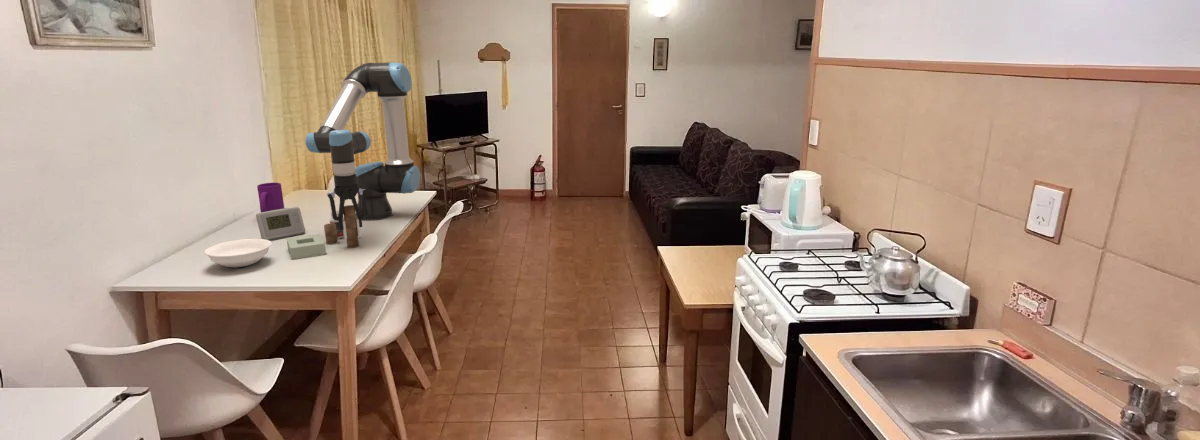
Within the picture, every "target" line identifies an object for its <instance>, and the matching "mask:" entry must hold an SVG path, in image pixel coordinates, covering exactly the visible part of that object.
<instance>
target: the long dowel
mask: <svg viewBox="0 0 1200 440" xmlns="http://www.w3.org/2000/svg"><path fill="white" fill-rule="evenodd" d="M343 217H344V221H345V224H346V233H347V239H346V244H347V245H346V246H347V248H350V249H351V248H352V249H353V248H357V247H359V246H360V241H359V237H358V232H357V224H356V212H355V207H354V206H353V204H351V205H350V204H348V205H344V213H343Z"/></svg>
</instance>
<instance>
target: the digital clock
mask: <svg viewBox="0 0 1200 440" xmlns="http://www.w3.org/2000/svg"><path fill="white" fill-rule="evenodd" d="M255 217H256V221H257V226H258V229H259V235H260V239H265V240H269V241H275V240H281V239H287V238H292V237H298V236H297V235H303V234H305V233H306V228H305V224H304V220H303V216H302V212H301V209H300V207H299V206H291V207H286V208H285V207H284V209H278V210H271V211H267V212H261V211H260V212H257V213H256V214H255Z"/></svg>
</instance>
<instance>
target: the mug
mask: <svg viewBox="0 0 1200 440" xmlns="http://www.w3.org/2000/svg"><path fill="white" fill-rule="evenodd" d="M282 189H283V188H282V183H280V182H265V183H260V184H257V194H258V200H259V209H260V211H259V212H260V213H261V212H267V211H271V210H278V209H284V208H285V202H284V195H283V190H282Z"/></svg>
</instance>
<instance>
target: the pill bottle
mask: <svg viewBox="0 0 1200 440" xmlns="http://www.w3.org/2000/svg"><path fill="white" fill-rule="evenodd" d="M336 214H337V217H338V215H339V210H336ZM330 216H331V217H330V219H329V224H330V223H334V224H336V231H337V239H345V238H344V235H343V230H341V229H340V228H339V221H337V220H334V219H333V216H332V212H330ZM343 220H344V216H343Z"/></svg>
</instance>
